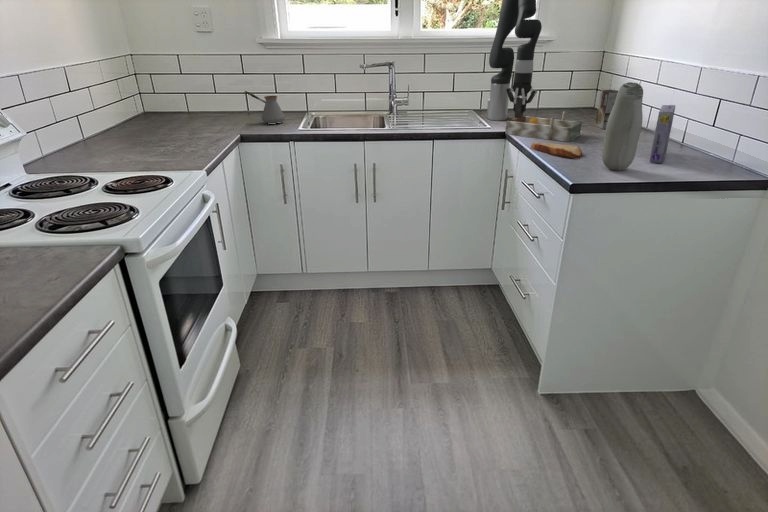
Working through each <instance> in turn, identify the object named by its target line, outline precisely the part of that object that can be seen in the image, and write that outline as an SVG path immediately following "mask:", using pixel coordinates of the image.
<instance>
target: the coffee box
mask: <svg viewBox="0 0 768 512" xmlns="http://www.w3.org/2000/svg"><path fill="white" fill-rule="evenodd" d="M617 93H618V90H617V89H601V90H600V95H599V100H598V101H599V102H598V106H597V107H598V108H597V113H596V119H595V124H594V126H595V127H598V128H600V129H602V130H606V127H607V122H608V118H609V116H610V113H611V111H612V108H613V106H614V104H615V100H616V97H617Z"/></svg>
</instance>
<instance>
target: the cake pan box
mask: <svg viewBox="0 0 768 512" xmlns="http://www.w3.org/2000/svg"><path fill="white" fill-rule="evenodd" d="M661 105H662V104H661ZM675 110H676V105H675V104H672V105H671V104H668V105H666V104H665V105H662V106H661V108H660V109H659V112H658V116H657V121H656V126H655V131H654V136H653V143H652V147H651V152H650V157H649V162H650V163H657V164H661V163H663V164H664V162H665V158H666V155H667V150H668V146H669V142H670V136H671V132H672V126H673V121H674V117H675V116H674V115H675V112H676V111H675Z"/></svg>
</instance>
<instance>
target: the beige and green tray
mask: <svg viewBox="0 0 768 512" xmlns="http://www.w3.org/2000/svg"><path fill="white" fill-rule="evenodd" d="M561 116H562V117H561V119H555V117H550V118H545V117H544V118H543V117H536V118H537V119H538V124H532V123H529V120H530V119H531V118H532V117H533V116H526V119H525V122H524V123H522V122H513V121H511V120H507V121H506V120H505V121H506V122H505V123H506V124H505V131H504V132H505V135H511V136H519V137H526V138H535V139H543V140H547V141H551V140H552V141H558V142H559V141H560V142H568V143H570V142H571V141H573V140H574V139H576V138H578V137H579V136H581V130H582V123H583V122H582V121H573V120H566V118H567V111H562V115H561Z"/></svg>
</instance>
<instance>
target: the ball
mask: <svg viewBox="0 0 768 512" xmlns="http://www.w3.org/2000/svg"><path fill="white" fill-rule="evenodd" d="M531 117H532V118H531V119H530V120H529V123H532V124H538V119H537V118H538V117H537V116H536V117H535V116H531Z"/></svg>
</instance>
